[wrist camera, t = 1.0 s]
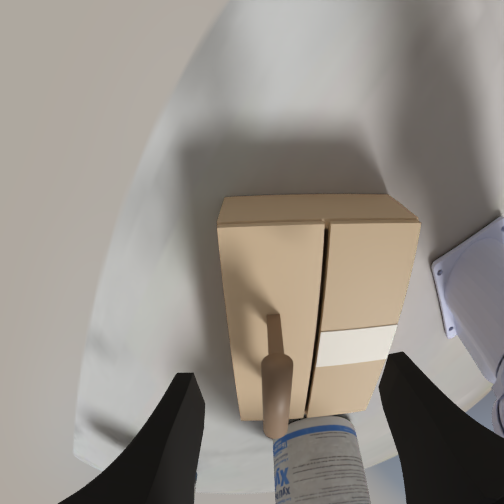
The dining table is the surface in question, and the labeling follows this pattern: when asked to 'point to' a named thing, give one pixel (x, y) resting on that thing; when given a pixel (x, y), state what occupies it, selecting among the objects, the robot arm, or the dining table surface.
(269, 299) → the far flap
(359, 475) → the supplement tub
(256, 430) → the dining table surface
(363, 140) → the dining table surface
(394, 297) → the carton
